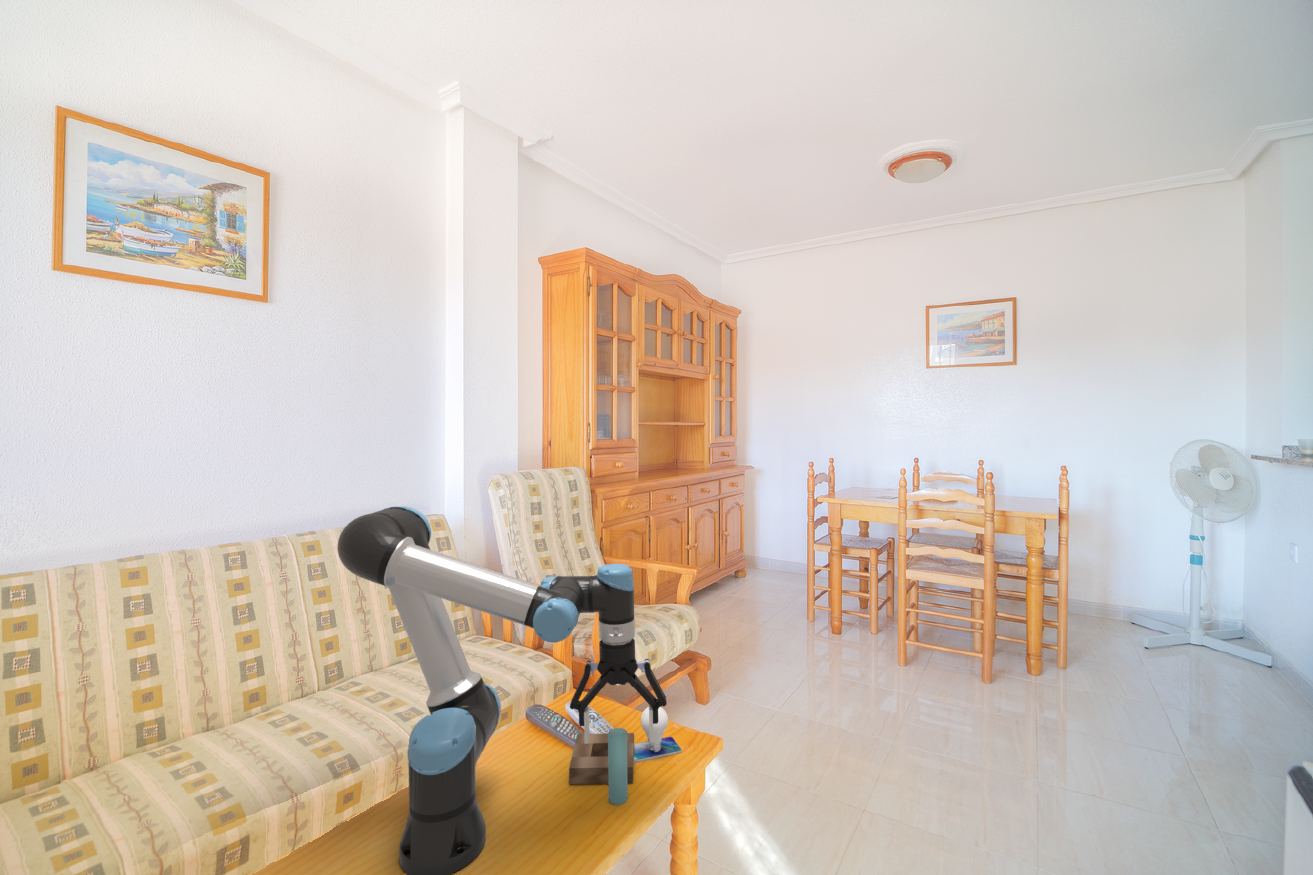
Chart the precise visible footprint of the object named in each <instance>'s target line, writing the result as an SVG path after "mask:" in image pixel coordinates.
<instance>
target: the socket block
mask: <svg viewBox="0 0 1313 875" xmlns="http://www.w3.org/2000/svg"><path fill="white" fill-rule="evenodd" d="M634 744H635V733H634V732H627V785H628V784H634V764H635V763H634ZM571 754H572V755H571V759H570V763H569V768H568V770H569V772H568V777H569V778H568V782H569V783H568V785H608V732H607V733H590V737H589V742H588V744H585V736H584V733H577V734H576V737H575V741H574V746H573V750H572V753H571Z"/></svg>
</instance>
